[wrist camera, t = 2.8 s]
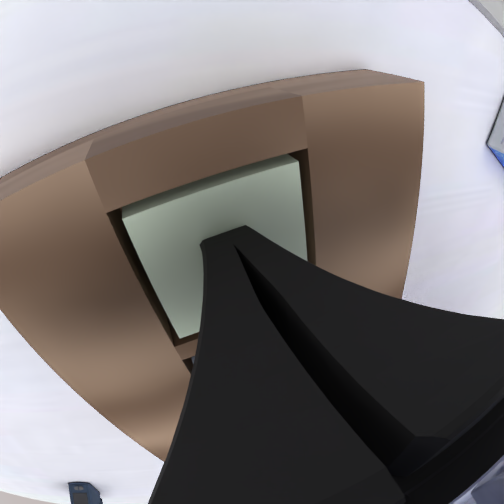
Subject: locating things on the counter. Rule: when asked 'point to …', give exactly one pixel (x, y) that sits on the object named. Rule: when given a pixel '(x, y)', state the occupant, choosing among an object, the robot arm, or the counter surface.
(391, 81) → the block tray
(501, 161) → the medicine box
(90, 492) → the vaping device
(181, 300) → the tile
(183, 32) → the counter surface
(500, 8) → the phone holder
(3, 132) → the counter surface
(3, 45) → the counter surface
